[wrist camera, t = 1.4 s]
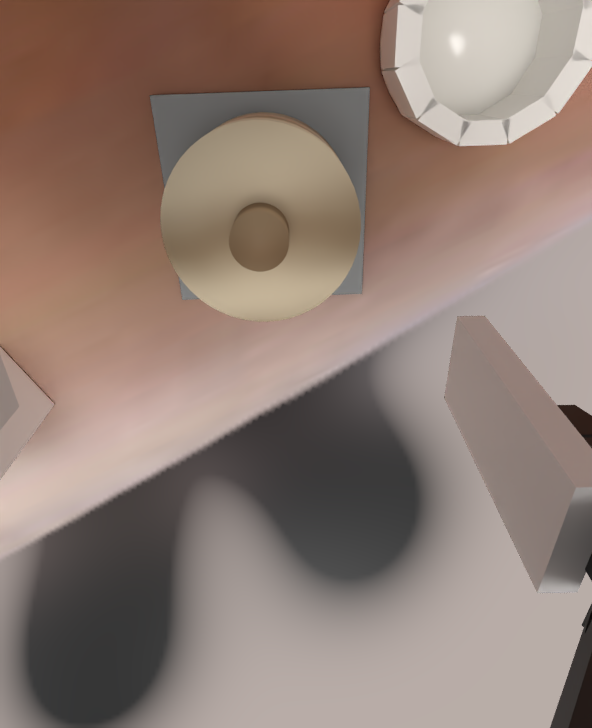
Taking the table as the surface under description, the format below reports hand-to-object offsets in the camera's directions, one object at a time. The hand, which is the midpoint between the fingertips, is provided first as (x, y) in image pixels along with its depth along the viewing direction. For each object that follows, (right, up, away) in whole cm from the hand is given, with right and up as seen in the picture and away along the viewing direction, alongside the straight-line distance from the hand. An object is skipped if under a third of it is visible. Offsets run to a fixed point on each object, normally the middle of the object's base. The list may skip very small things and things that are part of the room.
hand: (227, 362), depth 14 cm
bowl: (+11, +17, +12) cm, 23 cm away
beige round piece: (0, +10, +16) cm, 18 cm away
